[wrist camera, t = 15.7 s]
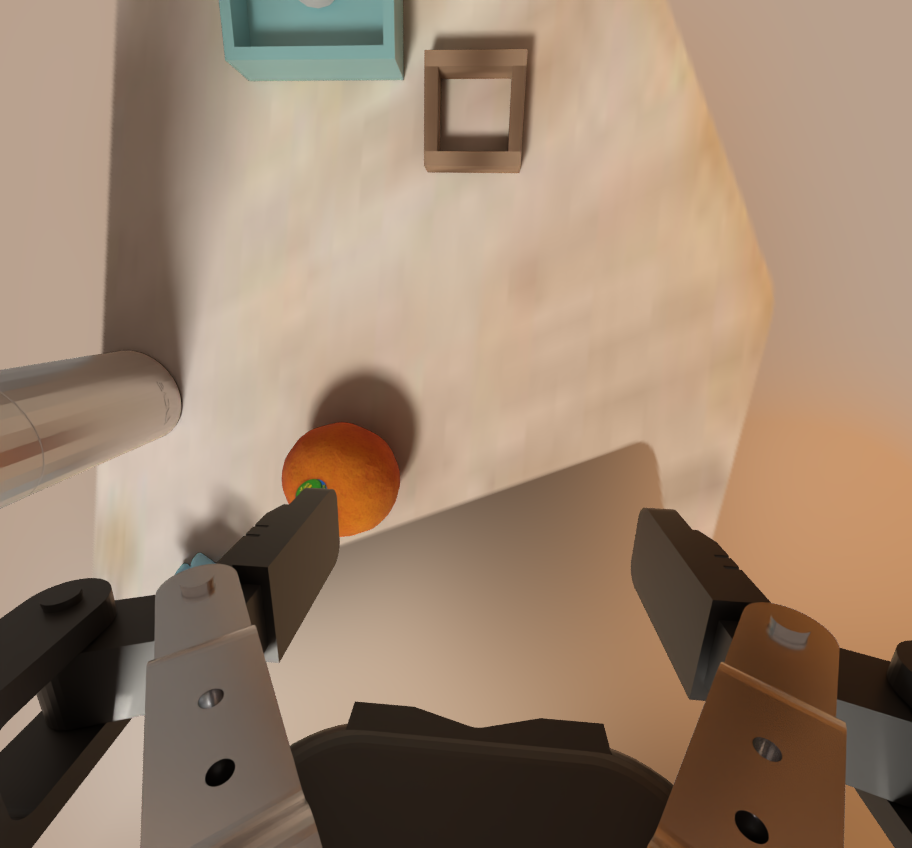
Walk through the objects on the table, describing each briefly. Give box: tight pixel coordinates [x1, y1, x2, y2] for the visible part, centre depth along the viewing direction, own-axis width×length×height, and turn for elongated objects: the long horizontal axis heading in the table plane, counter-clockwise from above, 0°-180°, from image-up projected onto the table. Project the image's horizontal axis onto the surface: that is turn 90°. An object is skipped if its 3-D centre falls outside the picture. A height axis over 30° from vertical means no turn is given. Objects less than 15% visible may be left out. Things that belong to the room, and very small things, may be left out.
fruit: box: [282, 422, 400, 537], centre depth 41 cm, size 11×10×8 cm
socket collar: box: [424, 49, 528, 173], centre depth 34 cm, size 8×8×2 cm
